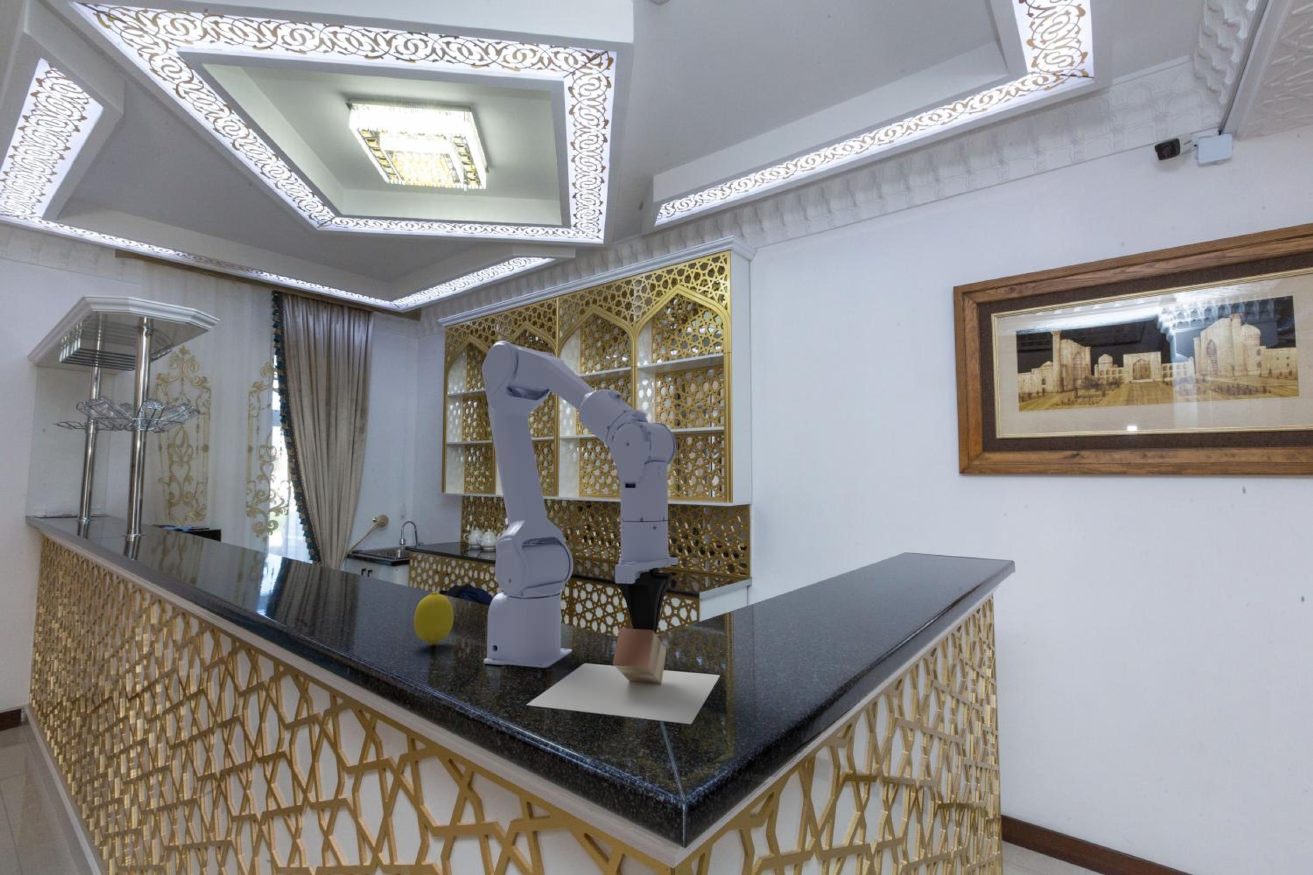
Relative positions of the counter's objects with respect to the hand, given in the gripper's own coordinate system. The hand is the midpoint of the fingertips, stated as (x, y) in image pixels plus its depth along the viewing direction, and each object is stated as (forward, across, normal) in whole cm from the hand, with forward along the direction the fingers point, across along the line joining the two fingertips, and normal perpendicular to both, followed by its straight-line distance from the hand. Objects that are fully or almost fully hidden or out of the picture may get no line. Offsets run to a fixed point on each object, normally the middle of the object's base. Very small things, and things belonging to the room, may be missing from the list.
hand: (645, 636), depth 68 cm
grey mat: (+6, -2, +1) cm, 6 cm away
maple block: (+4, +1, 0) cm, 4 cm away
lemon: (+6, +8, +36) cm, 37 cm away
